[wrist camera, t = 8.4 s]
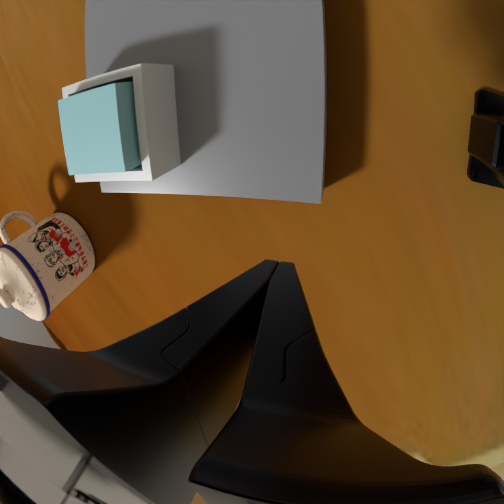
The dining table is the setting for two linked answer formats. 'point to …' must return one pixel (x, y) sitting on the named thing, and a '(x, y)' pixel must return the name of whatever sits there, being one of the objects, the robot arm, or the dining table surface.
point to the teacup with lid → (43, 263)
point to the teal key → (100, 130)
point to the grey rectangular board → (216, 94)
